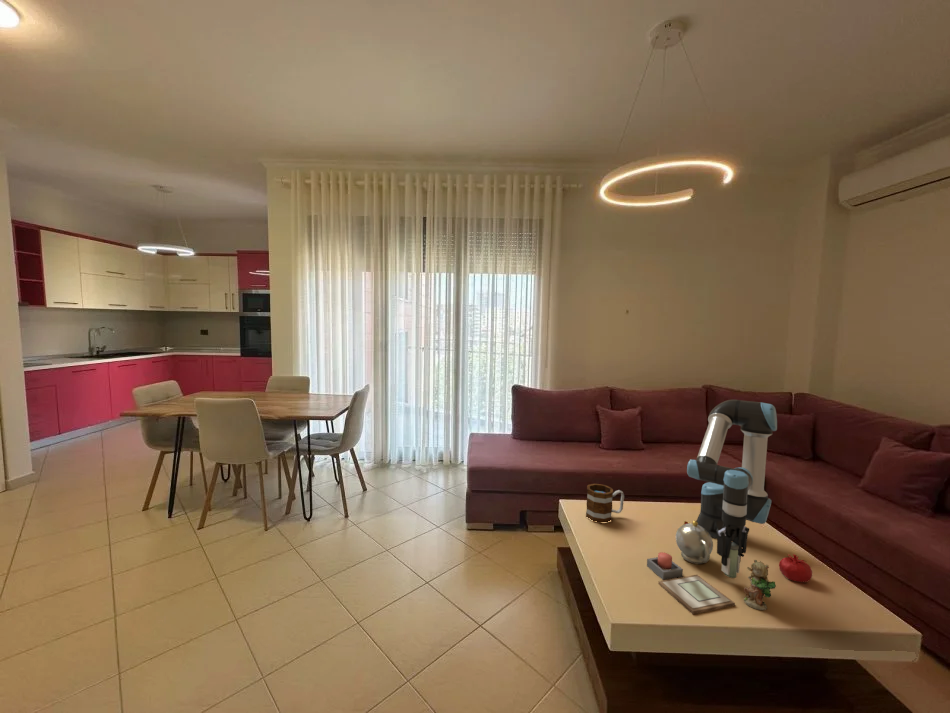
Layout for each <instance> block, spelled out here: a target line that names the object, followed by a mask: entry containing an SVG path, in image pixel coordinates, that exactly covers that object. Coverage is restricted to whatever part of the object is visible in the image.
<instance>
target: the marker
mask: <svg viewBox="0 0 950 713" xmlns="http://www.w3.org/2000/svg"><path fill="white" fill-rule="evenodd" d="M738 549H739V546H738V545H737V544H736V543H734V542H733V541H732V544H731V549H730V553H729V558H730V573H729V575H727V574H726V573H724V572H723V574H724V575H725V576H726V577H728V578H731V579H735V578H737V577H738V576H737V574H738V573H737V560H738Z"/></svg>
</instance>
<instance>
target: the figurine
mask: <svg viewBox="0 0 950 713" xmlns="http://www.w3.org/2000/svg"><path fill="white" fill-rule="evenodd" d="M750 565H751V566H750V567H749V566H747V568H746V569H747V570H748V571H750V572H751V573H750V575H749V576H747V578H748V580H749V581H750V582H749V583H750V586H748V587H744V589H743V593H744V594H745V595H746V596H745V597H744V598H743V601H744V603H745V604H746V605H747V606H748V607H749V608H750V607H751V608H752V609H755V610H758V611H759V610H760V611H766V610H768V607H767V604H766V602H765V601H763V599H764V597H766V598H768V599H769V598H770V597H771V596H772V591H771V590H773V589H774V590H775V588H776V581H773V580H772V581H769V579H768V578H769V577H768V575H769V568H770V566H769V565H768V564H765V563H764V562H763V561H761V560H759V561H758V560H757V559H753V563H751V564H750Z"/></svg>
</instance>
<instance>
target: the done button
mask: <svg viewBox="0 0 950 713" xmlns="http://www.w3.org/2000/svg"><path fill="white" fill-rule="evenodd" d="M657 557H658V566H659V567H660V568H661V569H663V570H670V569H671V568H672V561H673V556H672V555H671V554H669V553H668V552H663V551H661V552H658V554H657Z"/></svg>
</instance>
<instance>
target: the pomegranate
mask: <svg viewBox="0 0 950 713" xmlns="http://www.w3.org/2000/svg"><path fill="white" fill-rule="evenodd" d="M778 567H779V571H780V572H781V574H782V575H783V576H784V577H785V578H786V579H788V580H790V581H792V582H797V583H807V582H809V581H810V580H811V579H812V577H813V570H812V568H811V567H812V566H810V565H809V563H808V562H807V561H806V560H804V559H799V556H798V555H797V554H795V553H793V554H792V556H791V555H790V554H788V556H786V557H783V558H781V560H779V562H778Z"/></svg>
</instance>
